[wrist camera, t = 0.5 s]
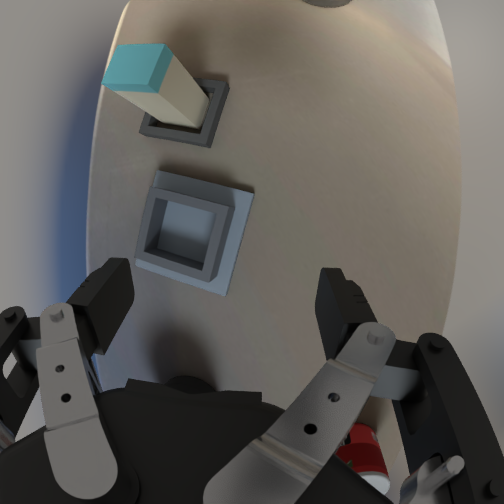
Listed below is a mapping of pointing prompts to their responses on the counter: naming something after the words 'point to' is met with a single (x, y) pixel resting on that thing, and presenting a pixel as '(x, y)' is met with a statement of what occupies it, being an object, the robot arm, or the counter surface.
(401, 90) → the counter surface
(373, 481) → the canned food
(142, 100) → the plug
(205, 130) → the gray square frame
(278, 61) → the counter surface
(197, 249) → the port
